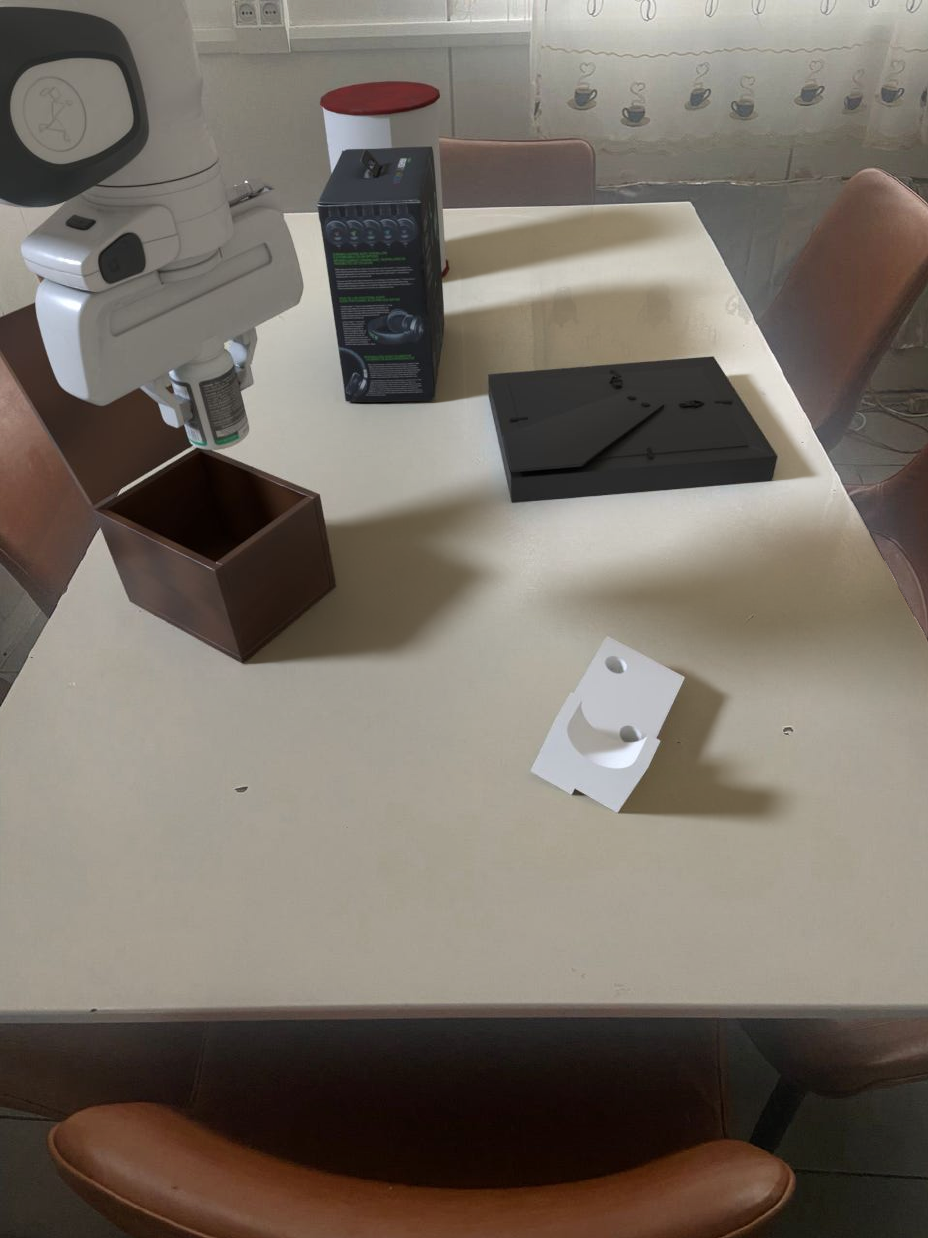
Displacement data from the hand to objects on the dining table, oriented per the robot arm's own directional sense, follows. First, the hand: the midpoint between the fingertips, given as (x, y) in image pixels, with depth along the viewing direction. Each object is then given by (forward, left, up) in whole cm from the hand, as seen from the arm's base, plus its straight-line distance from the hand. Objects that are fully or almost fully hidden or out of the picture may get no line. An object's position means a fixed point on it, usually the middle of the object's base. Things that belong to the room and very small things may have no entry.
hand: (210, 404), depth 67 cm
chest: (-4, +4, -23) cm, 24 cm away
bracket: (+32, -12, -23) cm, 41 cm away
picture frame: (+34, +34, -23) cm, 53 cm away
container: (0, +84, -23) cm, 87 cm away
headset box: (+5, +52, -23) cm, 57 cm away
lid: (-13, +9, -4) cm, 17 cm away
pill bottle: (0, 0, -3) cm, 3 cm away
